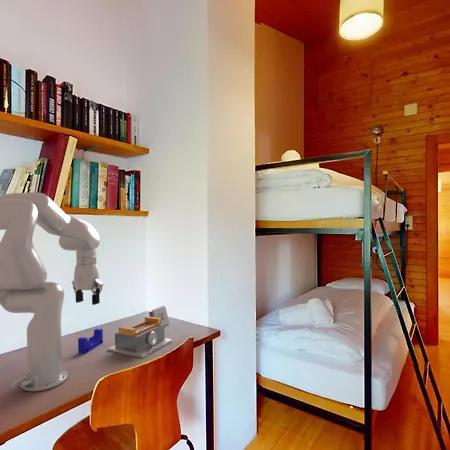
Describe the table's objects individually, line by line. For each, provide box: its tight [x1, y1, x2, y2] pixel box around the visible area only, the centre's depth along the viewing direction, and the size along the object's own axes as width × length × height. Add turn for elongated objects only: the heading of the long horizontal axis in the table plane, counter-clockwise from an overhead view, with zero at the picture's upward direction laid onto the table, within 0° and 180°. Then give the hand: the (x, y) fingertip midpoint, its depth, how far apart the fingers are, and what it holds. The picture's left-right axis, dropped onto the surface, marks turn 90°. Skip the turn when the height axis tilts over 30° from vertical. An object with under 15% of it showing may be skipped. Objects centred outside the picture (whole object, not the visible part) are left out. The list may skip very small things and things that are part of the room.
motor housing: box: [107, 316, 173, 359], centre depth 128 cm, size 18×18×10 cm
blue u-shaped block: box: [77, 328, 104, 355], centre depth 128 cm, size 12×4×6 cm, turn 169°
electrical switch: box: [148, 305, 170, 327], centre depth 155 cm, size 9×5×9 cm, turn 152°
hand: (87, 303), depth 128 cm, fingers open, 9 cm apart
